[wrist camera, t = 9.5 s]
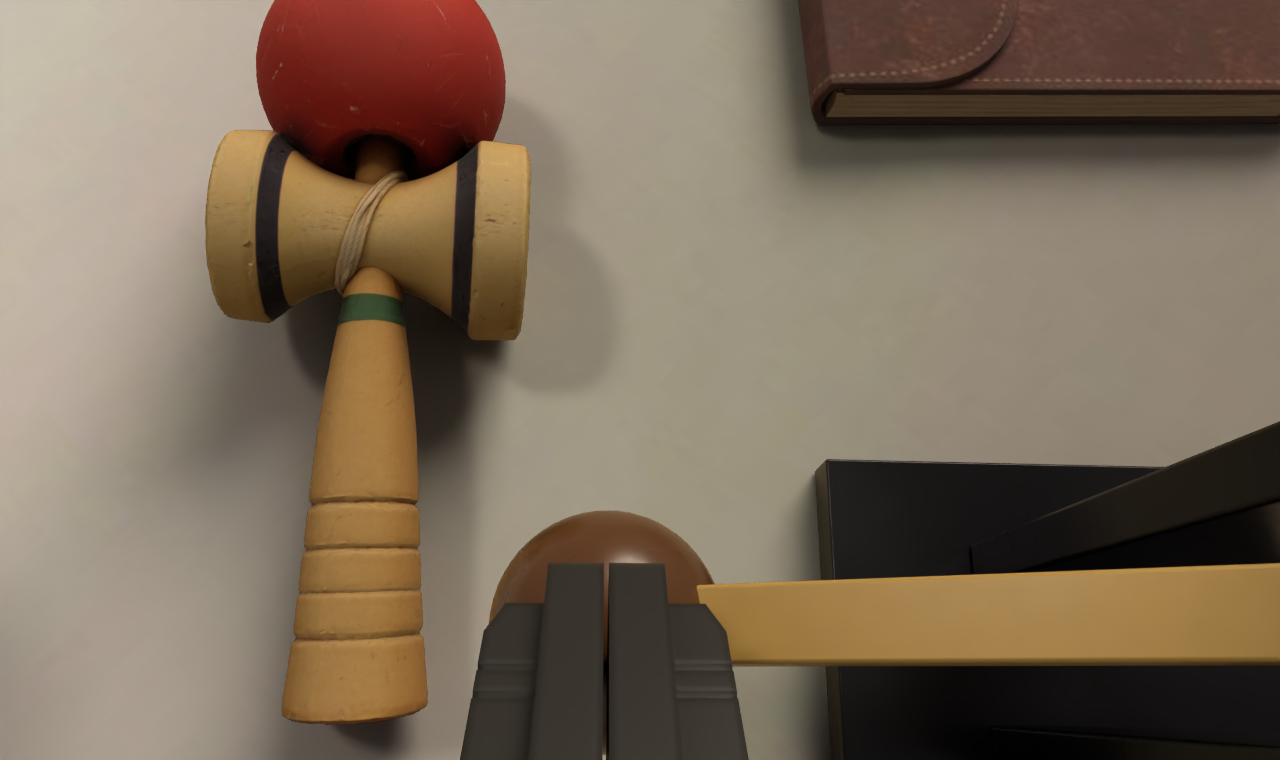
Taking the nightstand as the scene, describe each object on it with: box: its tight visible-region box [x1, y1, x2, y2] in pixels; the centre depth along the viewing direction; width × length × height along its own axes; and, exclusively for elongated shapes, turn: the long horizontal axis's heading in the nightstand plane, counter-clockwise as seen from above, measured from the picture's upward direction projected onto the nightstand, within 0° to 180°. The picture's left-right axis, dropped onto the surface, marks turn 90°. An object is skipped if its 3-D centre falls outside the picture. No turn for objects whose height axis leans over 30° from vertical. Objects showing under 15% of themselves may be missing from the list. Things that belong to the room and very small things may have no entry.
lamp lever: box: [489, 511, 1280, 755], centre depth 12 cm, size 15×4×4 cm, turn 89°
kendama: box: [205, 0, 531, 725], centre depth 21 cm, size 8×6×18 cm
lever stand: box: [815, 422, 1280, 760], centre depth 15 cm, size 11×9×15 cm
